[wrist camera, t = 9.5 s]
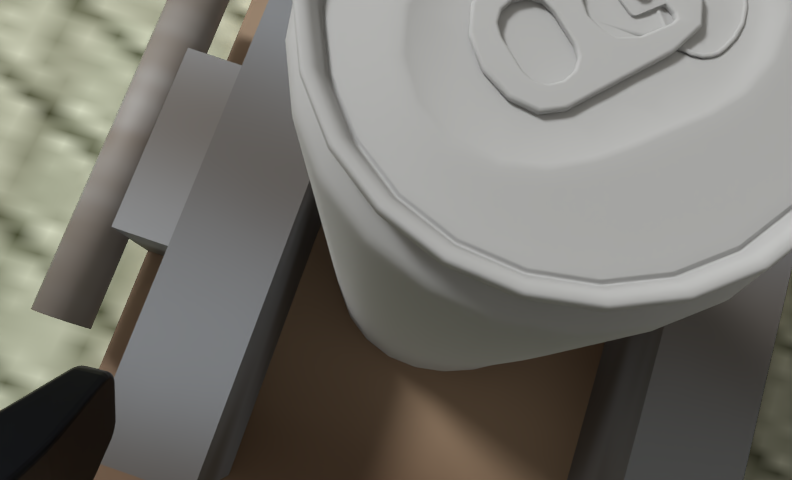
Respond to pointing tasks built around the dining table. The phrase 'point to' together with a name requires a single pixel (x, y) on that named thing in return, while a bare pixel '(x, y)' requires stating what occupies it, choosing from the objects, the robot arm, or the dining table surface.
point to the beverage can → (542, 165)
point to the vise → (344, 316)
